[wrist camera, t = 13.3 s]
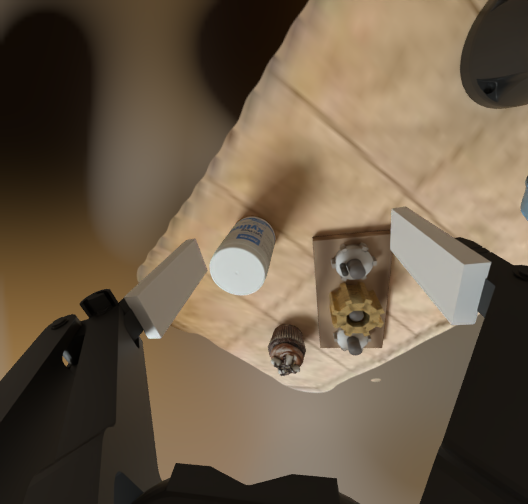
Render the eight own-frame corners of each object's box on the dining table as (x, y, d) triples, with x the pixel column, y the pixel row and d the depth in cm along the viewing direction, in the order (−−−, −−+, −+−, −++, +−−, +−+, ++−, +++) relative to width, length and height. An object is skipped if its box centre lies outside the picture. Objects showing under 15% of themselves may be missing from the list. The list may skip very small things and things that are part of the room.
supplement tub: (267, 209, 45) (255, 239, 32) (281, 249, 49) (275, 290, 36) (225, 222, 47) (198, 254, 34) (241, 259, 51) (222, 301, 38)
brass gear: (376, 280, 47) (386, 298, 41) (373, 315, 51) (382, 336, 46) (328, 282, 49) (331, 300, 43) (329, 316, 53) (333, 336, 48)
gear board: (390, 229, 43) (405, 245, 37) (379, 341, 57) (389, 366, 51) (312, 237, 46) (314, 252, 40) (319, 341, 60) (322, 365, 54)
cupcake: (312, 339, 60) (315, 374, 51) (283, 351, 64) (281, 386, 55) (292, 316, 57) (291, 349, 48) (263, 330, 61) (257, 363, 52)
